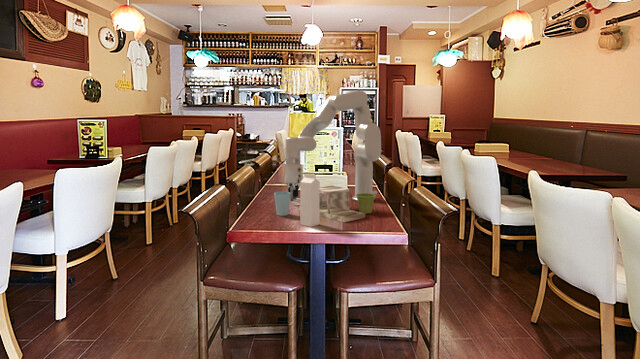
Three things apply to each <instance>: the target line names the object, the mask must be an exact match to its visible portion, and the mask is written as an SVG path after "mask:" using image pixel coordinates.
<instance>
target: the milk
mask: <svg viewBox="0 0 640 359" xmlns="http://www.w3.org/2000/svg"><path fill="white" fill-rule="evenodd" d="M320 183H321V182H320V181H319V180H318V179H317V176H316V174H311V173H304V176H303V179H302V181H301V182H300V187H299V190H300V192H299V193H300V195H299V198H300V203H299V204H300V205H299V206H300V211H299V212H300V213H299V214H300V215H299V222H300V223H299V225H300V226H304V227H310V228H312V227H316V226H319V225H320V216H319V201H320V196H321V195H320V194H321V193H320V187H321V186H320V185H321V184H320Z"/></svg>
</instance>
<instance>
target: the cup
mask: <svg viewBox="0 0 640 359" xmlns="http://www.w3.org/2000/svg"><path fill="white" fill-rule="evenodd" d="M290 194H291V193H290V192H288V191H275V192H274V193H273V195H274V202H275V211H276V215H277V216H281V217H285V216H289V211H290V210H289V209H290V202H291V201H290Z"/></svg>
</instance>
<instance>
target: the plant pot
mask: <svg viewBox="0 0 640 359" xmlns="http://www.w3.org/2000/svg"><path fill="white" fill-rule="evenodd" d="M376 195H377V194H375V195H374V194H369V193H360V194H356V196H357V199H358V201H357V205H358V212H362V213H365V215H366V214H371V213H372V212H373V206H374V201H375V200H374V198H375V199H376Z"/></svg>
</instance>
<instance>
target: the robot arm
mask: <svg viewBox="0 0 640 359" xmlns="http://www.w3.org/2000/svg"><path fill="white" fill-rule="evenodd" d="M368 98H369V97H368V94H367V93H366V91H364V90H349V91H347V92H345V93H338V94H331V95H329V96H328V97H327V98H326V100H325V102H324V103H323V104H322V106H321V107H320V109H319V110H318V112H317V113H316V114H315V115H314V117H313V118H312V119H311V120H310V121H309V122H308V123H307V124H306V125H305V126H304V127H303V129H302V130H301V131H300V133H299V135H298V136H288V137H286V138H285V164H284V182H283V183H284V184H285V185H286V186H287V192H290V185H293V187H294V189H293V197H296V198H298V197H299V190H300V182H301V181H302V179H303V178H304V175H303V167H302V166H303V165H302V164H301V151H302V152H313V151H314V150H315V149H316V148H317V140H316V139H315V138H314V137H315V136H316V135H317V134H318V133H319V132H321V131H322V130H325V129H327V127H329V126H330V125H331V123H332V122H333V120H334V118H335V117H336V115H338V112H345V111H350V110H352V112H353V114H354V119H355V120H354V121H355V124H354V125H355V136H356V137H357V139H359V140H362V141H363V142H359V143H357V144H356V145H355V147H354V150H353V154H354V155H353V156H354V162H355V163H354V164H355V173H354V174H355V177H354V179H355V180H354V181H355V182H354V183H355V184H354V195H353V196H352V198H351V199H352V200H353V201H357V202H358V199H357V196H356V194H360V193H369V194H374V195H377V194H378V191H377V190H374V191H373V177H374V176H373V172H374V167H373V162H376V161H378V160H379V158H381V155H382V135H381V129H380V126H378V125H377V123H374V122H372V116H371V110H370V106H369V104H368V101H369V100H368ZM375 200H376V197H375V198H374V201H375Z"/></svg>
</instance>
